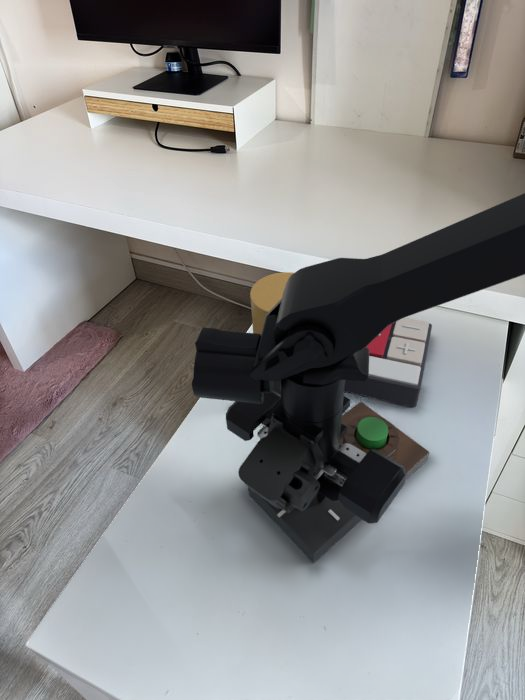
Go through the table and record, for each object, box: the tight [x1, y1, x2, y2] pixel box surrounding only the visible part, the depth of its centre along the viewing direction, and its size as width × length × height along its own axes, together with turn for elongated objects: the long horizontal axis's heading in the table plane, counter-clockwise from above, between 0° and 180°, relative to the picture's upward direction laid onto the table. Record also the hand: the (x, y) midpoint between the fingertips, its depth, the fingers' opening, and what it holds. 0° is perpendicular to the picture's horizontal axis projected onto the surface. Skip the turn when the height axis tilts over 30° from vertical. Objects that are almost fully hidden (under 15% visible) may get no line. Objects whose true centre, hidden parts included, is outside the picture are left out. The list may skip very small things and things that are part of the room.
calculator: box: [344, 317, 433, 408], centre depth 73 cm, size 11×4×15 cm
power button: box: [356, 417, 388, 449], centre depth 60 cm, size 4×4×2 cm
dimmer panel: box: [247, 486, 363, 564], centre depth 58 cm, size 11×9×3 cm
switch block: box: [339, 401, 431, 480], centre depth 62 cm, size 11×9×4 cm
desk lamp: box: [249, 271, 294, 395], centre depth 63 cm, size 8×8×19 cm
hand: (308, 490), depth 57 cm, fingers open, 3 cm apart
